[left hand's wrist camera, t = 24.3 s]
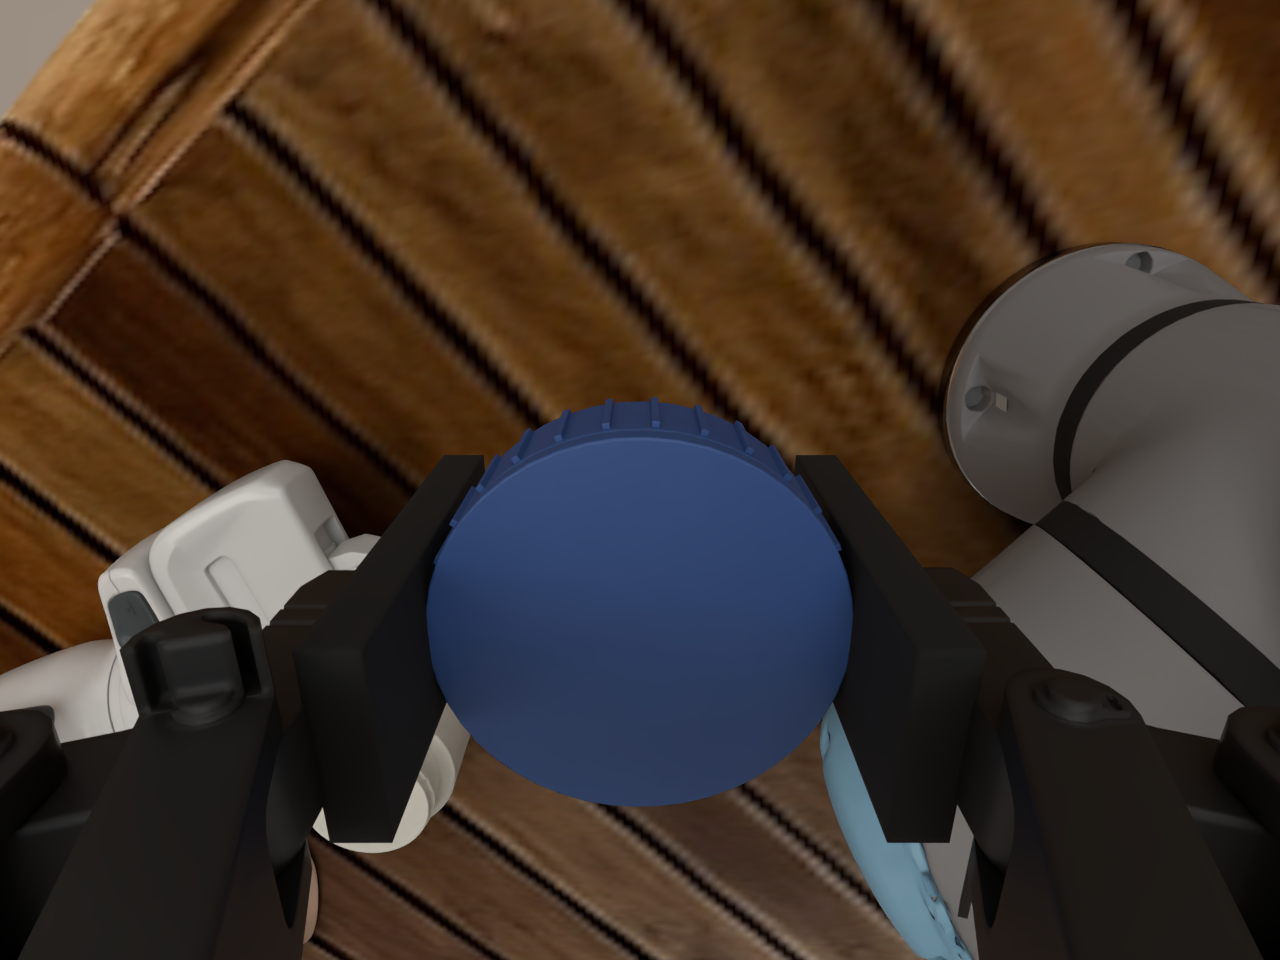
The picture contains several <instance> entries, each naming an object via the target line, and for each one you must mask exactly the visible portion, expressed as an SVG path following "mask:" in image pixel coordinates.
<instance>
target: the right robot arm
mask: <svg viewBox="0 0 1280 960" xmlns="http://www.w3.org/2000/svg"><path fill="white" fill-rule="evenodd" d="M379 539H380V536H375V535H370V534H363V535H360V536H357V537H354V538H351V539H349V537H348V536H347V534H346V532H345V530H344V528H343V526H342V524H341V522H340V521H339V519H338V517H337V515H336V513H335V511H334V509H333V507H332V506H331V504H330V502H329V500H328V498H327V496H326V494H325V493H324V491H323V489H322V487H321V485H320V483H319V481H318V479H317V477H316V475H315V474H314V472H313V470H312V469H311V468H310V467H308V466H306V465H303V464H300V463H296V462H293V461H289V460H282V461H279V462H276V463H273V464H270V465H268V466H266V467H263V468H261V469H258V470H256V471H254V472H252V473H250V474H248V475H246V476H244V477H242V478H240V479H238V480H236V481H234V482H232V483H231V484H229V485H227V486H225V487H224V488H222V489H221V490H219V491H217V492H216V493H214V494H213V495H211V496H210V497H208V498H206V499H205V500H203V501H202V502H200V503H198V504H197V505H196V506H194V507H193V508H191V509H190V510H188V511H187V512H186V513H184V514H183V515H181V516H180V517H179V518H177V519H176V520H174V521H173V522H172V523H170V524H169V525H168V526H166V527H165V528H163V529H161V530H159V531H157V532H155V533H154V534H152V535H150V536H149V537H147V538H145V539H144V540H142V541H141V542H139V543H138V544H137V545H135V546H134V547H132V548H131V549H130V550H129V551H127V552H126V553H125V554H124V555H122V556H121V557H120V558H119V559H118V560H117V561H116V562H114V563H113V564H112V565H111V566H110V567H109V568H108V569H107V570H106V571H105V572H104V573H103V574H102V575H101V576H100V577H99V580H98V590H99V594H100V597H101V601H102V604H103V607H104V610H105V613H106V616H107V620H108V623H109V626H110V630H111V634H112V637H113V639H104V640H96V641H90V642H86V643H83V644H79V645H76V646H73V647H70V648H67V649H64V650H61V651H58V652H55V653H53V654H50V655H47V656H44V657H42V658H39V659H37V660H34V661H31V662H29V663H27V664H24V665H22V666H20V667H17V668H15V669H13V670H10V671H8V672H6V673H4V674H2V675H0V712H1V711H8V710H15V709H26V710H36V711H41V712H43V713H44V714H46V715H47V716H49V717H50V718H52V720H53V723H54V725H55V728H56V731H57V734H58V737H59V740H60V743H64V742H69V741H74V740H79V739H84V738H89V737H94V736H99V735H104V734H109V733H114V732H119V731H124V730H128V729H131V728H133V727H134V725H135V723H136V721H137V719H138V717H139V715H138V711H137V708H136V705H135V701H134V698H133V694H132V691H131V688H130V684H129V681H128V678H127V674H126V671H125V668H124V664H123V661H122V658H121V654H120V651H119V650H120V649H121V648H122V647H123V646H124V645H125V644H126V643H127V642H128V641H129V640H130V638H131V637H132V636H134V635H136V634H137V633H139V632H141V631H142V630H144V629H146V628H147V627H149V626H151V625H153V624H154V623H157V622H160V621H162V620H165V619H168V618H170V617H173V616H175V615H178V614H181V613H186V612H191V611H195V610H200V609H204V608H217V607H234V608H240V609H246V610H249V611H251V612H252V613H254V614H255V615H257V616H258V617H259V618H260V621H261V626H262V630H263V628H264V627H265V626H266V625H270V621H271V619H272V618H273V617H274V616H275V615H276V614H277V613H278V612H279V610H280V609H284V605H285V604H286V602H287V601H288V600H289V599H290V598H291V597H292V596H293V595H294V593H295V592H296V591H297V590H298V589H299V588H300V587H301V586H302V585H304V584H306V583H307V582H309V581H311V580H312V579H314V578H316V577H318V576H319V575H321V574H323V573H324V572H326V571H328V570H356V568H357V567H358V566H359V564H360V563H361V562H362V561H363V559H364V558H365V557H366V555H367V554H368V553H369V552H370V550H371V549H372V548H373V546H374V545H375V544H376V543H377V541H378V540H379Z"/></svg>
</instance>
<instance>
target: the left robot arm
mask: <svg viewBox="0 0 1280 960" xmlns="http://www.w3.org/2000/svg"><path fill="white" fill-rule="evenodd" d="M939 424H940V430H941V435H942V439H943V442H944V445H945V448H946V451H947V453H948V455H949V457H950V460H951V461H952V463H953V465H954V466H955V468H956V470H957V471H958V473H959V474H960V475H961V476H962V478H963V479H964V480H965V481H966V482H967V483H968V484H969V485H970V486H971V487H972V488H973V489H974V490H975V491H976V492H977V493H979V494H980V495H981V496H982V497H983V498H985V499H986V500H987V501H988V502H990V503H991V504H992V505H994V506H995V507H997V508H998V509H1000V510H1002V511H1004V512H1006V513H1008V514H1010V515H1012V516H1014V517H1016V518H1018V519H1020V520H1023V521H1025V522H1028V523H1031V524H1034V525H1032V526H1031V527H1030V528H1029V529H1028V530H1026V531H1025V532H1024V533H1023V534H1022V535H1021V536H1019V537H1018V538H1017V539H1016V540H1015V541H1014V542H1013V543H1011V544H1010V545H1009V546H1008V547H1007V548H1006V549H1004V550H1003V551H1002V552H1001V553H1000V554H999V555H997V556H996V557H995V558H994V559H993V560H991V561H990V562H989V563H988V564H987V565H985V566H984V567H983V568H982V569H981V570H979V571H978V572H977V573H976V574H975V575H973V576H972V577H971V578H968V577H967V576H965V575H963V574H961V573H960V572H958V571H956V570H955V569H953V568H922V566H921V565H920V564H919V562H918V561H917V560H916V559H915V557H914V556H913V555H912V553H911V552H910V551H909V550H908V548H907V547H906V546H905V544H904V543H903V542H902V541H901V539H900V538H899V537H898V535H897V534H896V533H895V532H894V530H893V529H892V528H891V526H890V525H889V524H888V523H887V521H886V520H885V519H884V517H883V516H882V515H881V513H880V512H879V511H878V510H877V508H876V507H875V506H874V504H873V503H872V502H871V501H870V499H869V498H868V497H867V495H866V494H865V493H864V492H863V490H862V489H861V488H860V486H859V485H858V484H857V483H856V481H855V480H854V479H853V477H852V476H851V475H850V474H849V472H848V471H847V470H846V468H845V467H844V466H843V465H842V463H841V462H840V461H839V459H838V458H837V457H836V455H796V462H795V474H794V476H795V477H796V476H798V475H799V474H800V475H801V477H802V478H803V480H804V481H805V483H806V485H807V487H808V488H809V490H810V492H811V493H812V495H813V497H814V498H815V500H816V502H817V503H818V505H819V507H820V508H821V510H822V512H821V513H822V515H823V517H824V518H825V520H826V522H827V523H828V525H829V527H830V528H831V530H832V532H833V534H834V535H835V537H836V539H837V540H838V542H839V544H840V546H841V549H842V550H841V551H838V552H839V554H840V557H841V559H842V562H843V564H844V567H845V569H846V572H847V576H848V580H849V584H850V589H851V593H852V598H853V624H852V633H851V642H850V650H849V657H848V665H847V670H846V673H845V675H844V678H843V681H842V683H841V686H840V688H839V691H838V693H837V695H836V697H835V698H834V700H833V702H832V704H831V705H830V707H829V709H828V711H827V712H826V714H825V715H824V717H823V720H822V724H821V731H820V750H821V755H822V760H823V764H822V765H823V774H824V778H825V783H826V786H827V790H828V794H829V797H830V800H831V803H832V806H833V809H834V812H835V815H836V817H837V820H838V823H839V825H840V828H841V830H842V832H843V835H844V837H845V839H846V842H847V844H848V846H849V848H850V850H851V852H852V855H853V857H854V859H855V861H856V863H857V865H858V867H859V868H860V870H861V872H862V874H863V876H864V878H865V880H866V882H867V883H868V885H869V887H870V889H871V890H872V892H873V894H874V896H875V897H876V899H877V901H878V902H879V904H880V906H881V907H882V909H883V910H884V912H885V914H886V915H887V917H888V918H889V920H890V921H891V923H892V924H893V926H894V927H895V928H896V930H897V931H898V932H899V934H900V935H901V936H902V938H903V939H904V940H905V942H906V943H907V944H908V945H909V947H910V948H911V949H912V950H913V951H914V953H915V954H916V955H917V956H919V957H921V958H925V959H926V958H927V960H1280V306H1279V305H1272V304H1263V303H1257V302H1253V301H1252V300H1251V299H1249V298H1248V297H1247V296H1245V295H1244V294H1243V293H1241V292H1240V291H1238V290H1237V289H1236V288H1234V287H1233V286H1232V285H1230V284H1229V283H1228V282H1226V281H1225V280H1224V279H1222V278H1221V277H1219V276H1218V275H1217V274H1215V273H1214V272H1213V271H1211V270H1210V269H1209V268H1207V267H1206V266H1204V265H1202V264H1201V263H1199V262H1197V261H1195V260H1193V259H1191V258H1189V257H1186V256H1184V255H1181V254H1178V253H1176V252H1173V251H1170V250H1167V249H1164V248H1160V247H1156V246H1150V245H1144V244H1132V243H1117V242H1106V243H1093V244H1086V245H1081V246H1076V247H1072V248H1068V249H1065V250H1062V251H1059V252H1056V253H1053V254H1051V255H1049V256H1046V257H1044V258H1042V259H1040V260H1038V261H1036V262H1034V263H1032V264H1030V265H1028V266H1027V267H1025V268H1023V269H1022V270H1020V271H1019V272H1017V273H1016V274H1014V275H1013V276H1011V277H1010V278H1009V279H1008V280H1006V281H1005V282H1004V283H1002V284H1001V285H1000V286H999V287H998V288H997V289H996V290H994V291H993V292H992V293H991V294H990V295H989V296H988V297H987V298H986V299H985V300H984V301H983V303H982V304H981V305H980V306H979V307H978V308H977V309H976V311H975V312H974V313H973V315H972V316H971V317H970V318H969V320H968V321H967V323H966V324H965V326H964V327H963V329H962V331H961V332H960V334H959V336H958V338H957V339H956V341H955V343H954V345H953V347H952V350H951V352H950V354H949V357H948V359H947V362H946V365H945V369H944V372H943V376H942V380H941V385H940V392H939ZM484 473H485V467H484V455H444V456H443V457H442V459H441V460H440V461H439V463H438V464H437V465H436V467H435V468H434V469H433V470H432V472H431V473H430V474H429V476H428V477H427V478H426V479H425V481H424V482H423V483H422V485H421V486H420V487H419V488H418V490H417V491H416V492H415V494H414V495H413V496H412V497H411V499H410V500H409V501H408V503H407V504H406V505H405V506H404V508H403V509H402V510H401V512H400V513H399V514H398V515H397V517H396V518H395V519H394V521H393V522H392V523H391V524H390V526H389V527H388V528H387V530H386V531H385V532H384V534H383V535H382V536H381V537H380V539H379V540H378V541H377V543H376V544H375V545H374V546H373V548H372V549H371V550H370V552H369V553H368V554H367V555H366V557H365V558H364V559H363V561H362V562H361V563H360V564H359V566H358V567H357V568H356V570H328V571H326V572H324V573H323V574H321V575H319V576H318V577H316V578H314V579H312V580H311V581H309V582H307V583H306V584H304V585H302V586H301V587H300V588H299V589H298V590H297V591H296V592H295V593H294V595H293V596H292V597H291V598H290V599H289V600H288V601H287V602H286V604H285V605H284V609H280V610H279V612H278V613H277V614H276V615H275V616H274V617H273V618H272V619H271V621H270V625H266V626H265V627H264V628H263V630H262V626H261V621H260V618H259V617H258V616H257V615H255V614H254V613H252V612H251V611H249V610H246V609H240V608H234V607H217V608H204V609H200V610H195V611H191V612H186V613H181V614H178V615H175V616H173V617H170V618H168V619H165V620H162V621H160V622H157V623H154V624H153V625H151V626H149V627H147V628H146V629H144V630H142V631H141V632H139V633H137V634H136V635H134V636H132V637H131V638H130V640H129V641H128V642H127V643H126V644H125V645H124V646H123V647H122V648H121V649H120V650H119V651H120V654H121V658H122V661H123V664H124V668H125V671H126V674H127V678H128V681H129V684H130V688H131V691H132V694H133V698H134V701H135V705H136V708H137V711H138V715H139V717H138V719H137V721H136V723H135V725H134V727H133V728H131V729H128V730H124V731H119V732H114V733H109V734H104V735H99V736H94V737H89V738H84V739H79V740H74V741H69V742H64V743H60V740H59V737H58V734H57V731H56V728H55V725H54V723H53V720H52V718H50V717H49V716H47V715H46V714H44V713H43V712H41V711H36V710H26V709H15V710H8V711H1V712H0V960H301V958H302V950H303V942H304V934H305V925H306V917H307V909H308V901H309V893H310V885H311V877H312V863H311V856H310V851H309V846H308V841H307V836H308V835H309V833H310V831H311V829H312V827H313V825H314V823H315V821H316V819H317V817H318V815H319V814H320V812H321V810H322V808H323V811H324V816H325V821H326V826H327V831H328V836H329V841H330V843H393V840H394V837H395V835H396V832H397V830H398V827H399V825H400V822H401V819H402V817H403V814H404V812H405V809H406V806H407V804H408V801H409V799H410V796H411V793H412V791H413V788H414V786H415V783H416V781H417V778H418V775H419V773H420V770H421V768H422V765H423V762H424V760H425V757H426V755H427V752H428V750H429V747H430V744H431V742H432V739H433V737H434V734H435V731H436V729H437V726H438V724H439V721H440V718H441V716H442V713H443V711H444V708H445V706H446V703H447V702H446V699H445V697H444V695H443V693H442V691H441V689H440V687H439V685H438V683H437V680H436V677H435V674H434V671H433V668H432V661H431V654H430V646H429V637H428V628H427V619H426V604H427V597H428V590H429V585H430V581H431V578H432V575H433V572H434V568H435V564H433V563H434V559H435V557H436V555H437V553H438V552H439V550H440V548H441V546H442V545H443V543H444V541H445V540H446V538H447V536H448V534H449V533H450V531H451V529H452V528H453V527H452V526H450V525H449V524H450V522H451V520H452V519H453V517H454V515H455V514H456V512H457V510H458V509H459V507H460V505H461V504H462V502H463V500H464V499H465V497H466V495H467V493H468V492H469V490H470V488H471V487H472V486H473V487H475V488H476V487H477V485H478V483H479V482H480V480H481V478H482V476H483V475H484Z"/></svg>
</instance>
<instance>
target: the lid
mask: <svg viewBox="0 0 1280 960" xmlns="http://www.w3.org/2000/svg"><path fill="white" fill-rule="evenodd" d="M821 512H822V510H821V508H820V507H819V505H818V503H817V502H816V500H815V498H814V497H813V495H812V493H811V492H810V490H809V488H808V487H807V485H806V483H805V481H804V480H803V478H802V477H801V475H800V474H799V475H798V476H796V477H795V476H794V475H793V474H792V473H791V471H790V470H789V469H788V468H787V466H786V465H785V463H784V461H783V459H782V457H781V456H780V454H779V452H778V450H777V448H776V447H774V446H773V445H771V446H770V447H769V448H768V447H767V446H766V445H765V444H763V443H762V442H760V441H759V440H757V439H756V438H755V437H753V436H752V435H750V434H749V433H748V432H746V431H745V429H744V426H743V424H742V423H740V422H739V421H736V422H735V423H734V425H733V424H731V423H730V422H728V421H726V420H724V419H722V418H719V417H716V416H714V415H711V414H708V413H705V412H703V408H702V406H699V405H695V407H694V409H692V408H688V407H684V406H679V405H675V404H668V403H658V398H654V397H651V401H650V402H646V401H645V402H619V403H614V402H613V399H607V400H606V403H605V405H600V406H594V407H591V408H587V409H584V410H580V411H577V412H574V413H571V412H570V409H568V410H565V411H563V413H562V415H561V418H559V419H556V420H554V421H552V422H550V423H547V424H545V425H544V426H542V427H540V428H539V429H537V430H536V431H534V432H533V431H532V430H531V429H530V428H529V429H528V430H526V431H525V432H524V434H523V436H522V438H521V440H520V441H519V442H518V443H517V444H516V445H514V446H513V447H512V448H511V449H510V450H508V451H507V452H506V453H505V454H504V455H503V456H502V457H500V456H499V455H496V456H495V457H494V458H493V459H492V461H491V463H490V464H489V466H488V468H487V470H486V471H485V473H484V475H483V476H482V478H481V480H480V482H479V483H478V485H477V487H476V488H475V487H473V486H472V487H471V488H470V490H469V492H468V493H467V495H466V497H465V499H464V500H463V502H462V504H461V505H460V507H459V509H458V510H457V512H456V514H455V515H454V517H453V519H452V520H451V522H450V524H449V525H450V526H452V527H453V528H452V529H451V531H450V533H449V534H448V536H447V538H446V540H445V541H444V543H443V545H442V546H441V548H440V550H439V552H438V553H437V555H436V557H435V559H434V563H433V564H435V568H434V572H433V575H432V578H431V581H430V585H429V590H428V597H427V604H426V619H427V628H428V637H429V646H430V654H431V661H432V668H433V671H434V674H435V677H436V680H437V683H438V685H439V687H440V689H441V691H442V693H443V695H444V697H445V699H446V702H447V704H448V705H449V707H450V708H451V710H452V711H453V713H454V714H455V716H456V717H457V719H458V720H459V722H460V723H461V725H462V726H463V727H464V728H465V729H466V730H467V731H468V733H469V734H470V735H471V736H472V737H473V738H474V739H475V741H476V742H477V743H478V744H480V745H481V746H482V747H483V748H484V749H485V750H486V751H487V752H488V753H490V754H491V755H492V756H493V757H494V758H495V759H497V760H498V761H500V762H501V763H502V764H504V765H505V766H507V767H508V768H510V769H511V770H512V771H514V772H515V773H517V774H519V775H521V776H523V777H525V778H526V779H528V780H530V781H532V782H534V783H536V784H538V785H540V786H543V787H545V788H548V789H550V790H552V791H555V792H557V793H560V794H563V795H567V796H570V797H574V798H577V799H581V800H584V801H590V802H595V803H601V804H607V805H617V806H631V807H643V806H663V805H671V804H679V803H685V802H690V801H694V800H698V799H702V798H707V797H710V796H713V795H716V794H719V793H721V792H724V791H727V790H730V789H733V788H735V787H737V786H739V785H741V784H743V783H745V782H747V781H749V780H751V779H754V778H755V777H757V776H759V775H760V774H762V773H763V772H765V771H767V770H768V769H770V768H771V767H773V766H775V765H776V764H777V763H779V762H780V761H781V760H782V759H784V758H785V757H786V756H787V755H789V754H790V753H791V752H792V751H794V750H795V749H796V748H797V747H798V746H799V745H800V744H801V743H802V742H803V741H804V740H805V739H806V738H807V737H808V736H809V735H810V733H811V732H812V731H813V730H814V729H815V727H816V726H817V725H818V723H819V722H820V721H821V719H822V718H823V717H824V715H825V714H826V712H827V711H828V709H829V707H830V705H831V704H832V702H833V700H834V698H835V697H836V695H837V693H838V691H839V688H840V686H841V683H842V681H843V678H844V675H845V673H846V670H847V665H848V657H849V650H850V642H851V633H852V624H853V598H852V593H851V589H850V584H849V580H848V576H847V572H846V569H845V567H844V564H843V562H842V559H841V557H840V554H839V552H838V551H841V550H842V549H841V546H840V544H839V542H838V540H837V539H836V537H835V535H834V534H833V532H832V530H831V528H830V527H829V525H828V523H827V522H826V520H825V518H824V517H823V515H822V513H821Z"/></svg>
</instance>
